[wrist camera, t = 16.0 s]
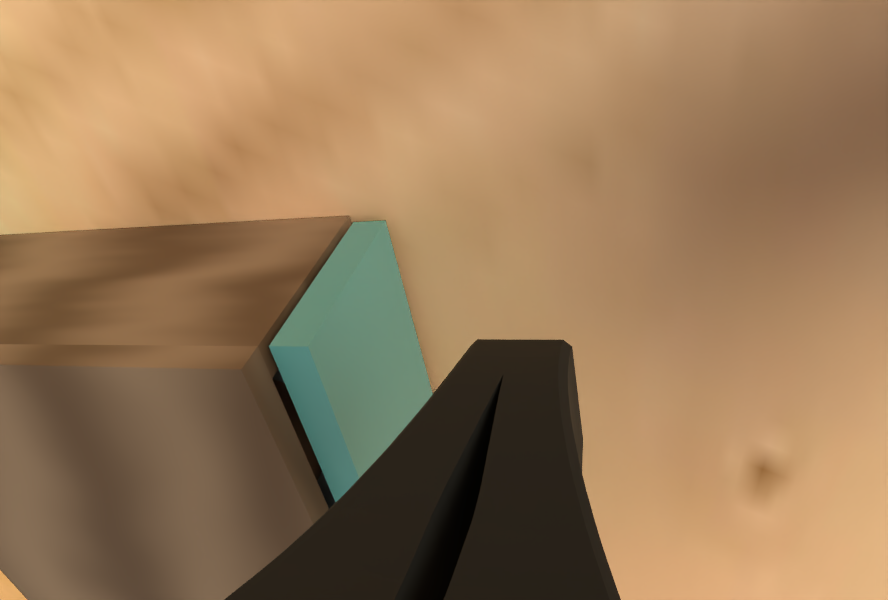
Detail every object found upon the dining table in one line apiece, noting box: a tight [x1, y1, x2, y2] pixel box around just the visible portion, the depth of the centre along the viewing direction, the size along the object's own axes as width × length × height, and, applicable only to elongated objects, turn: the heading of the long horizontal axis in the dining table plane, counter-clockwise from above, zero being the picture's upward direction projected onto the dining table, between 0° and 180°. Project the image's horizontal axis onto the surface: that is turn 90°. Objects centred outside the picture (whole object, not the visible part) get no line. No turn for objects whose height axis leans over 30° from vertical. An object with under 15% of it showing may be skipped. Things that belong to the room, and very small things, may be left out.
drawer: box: [269, 221, 433, 509], centre depth 24 cm, size 14×16×6 cm
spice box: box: [0, 216, 352, 600], centre depth 25 cm, size 14×16×7 cm
